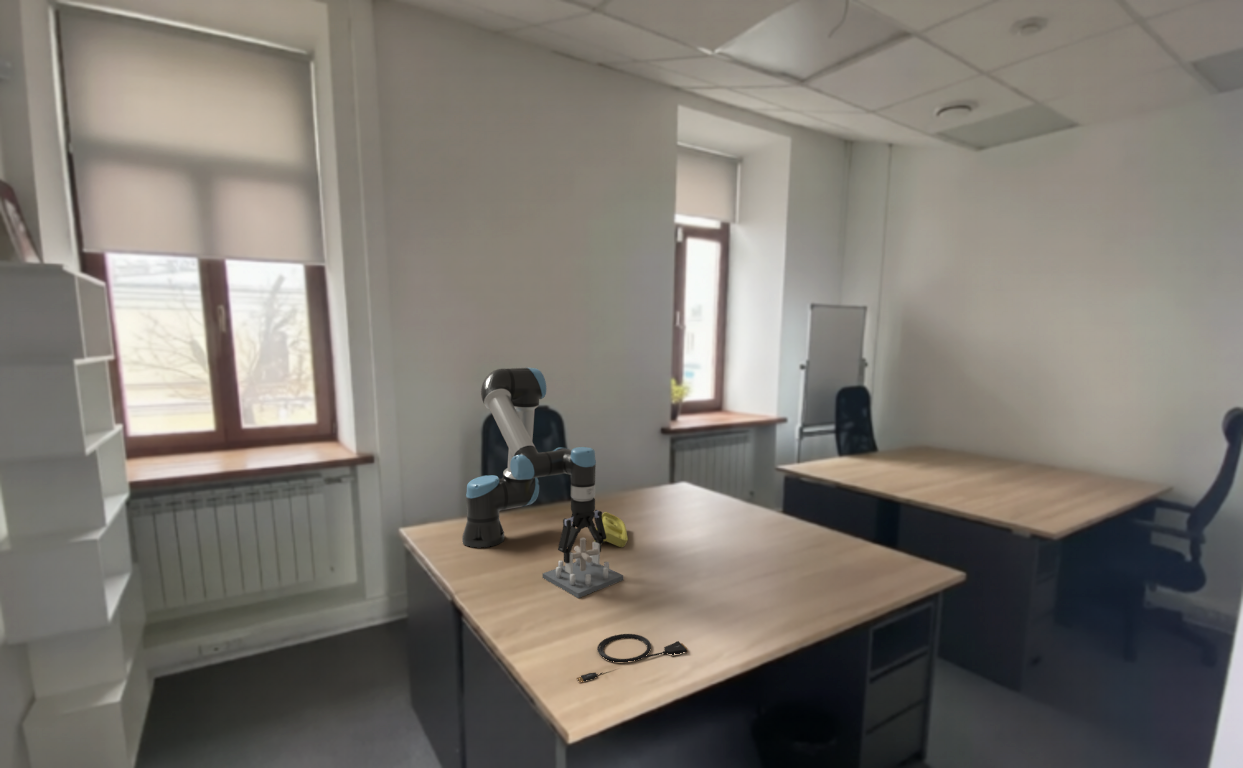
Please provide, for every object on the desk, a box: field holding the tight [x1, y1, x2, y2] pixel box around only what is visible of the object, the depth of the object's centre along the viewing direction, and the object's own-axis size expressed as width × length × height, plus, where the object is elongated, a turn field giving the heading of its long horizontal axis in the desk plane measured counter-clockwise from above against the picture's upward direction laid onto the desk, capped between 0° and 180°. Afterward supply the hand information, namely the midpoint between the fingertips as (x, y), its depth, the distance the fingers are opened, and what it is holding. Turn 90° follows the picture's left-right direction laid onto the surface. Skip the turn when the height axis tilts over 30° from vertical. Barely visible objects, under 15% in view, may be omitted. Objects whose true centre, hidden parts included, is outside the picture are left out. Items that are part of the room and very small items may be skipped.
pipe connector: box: [572, 537, 599, 571], centre depth 169 cm, size 10×10×10 cm
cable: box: [576, 633, 688, 683], centre depth 130 cm, size 14×28×2 cm, turn 115°
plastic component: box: [593, 511, 629, 548], centre depth 204 cm, size 20×7×10 cm
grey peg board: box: [542, 556, 624, 599], centre depth 169 cm, size 18×18×4 cm
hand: (582, 567), depth 169 cm, fingers closed on pipe connector, 10 cm apart
